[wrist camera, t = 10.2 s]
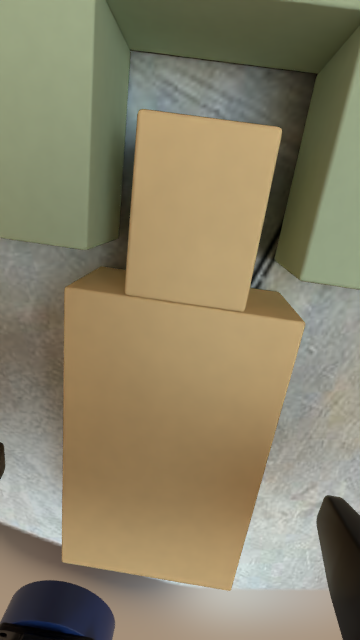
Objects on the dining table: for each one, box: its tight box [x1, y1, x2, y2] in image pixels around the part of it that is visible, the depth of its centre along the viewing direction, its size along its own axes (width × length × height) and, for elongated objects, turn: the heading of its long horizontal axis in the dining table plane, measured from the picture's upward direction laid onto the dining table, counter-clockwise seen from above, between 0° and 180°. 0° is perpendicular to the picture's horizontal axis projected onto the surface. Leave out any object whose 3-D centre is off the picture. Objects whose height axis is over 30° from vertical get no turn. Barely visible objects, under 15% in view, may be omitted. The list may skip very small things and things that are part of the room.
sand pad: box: [62, 109, 305, 591], centre depth 10 cm, size 14×6×3 cm, turn 173°
